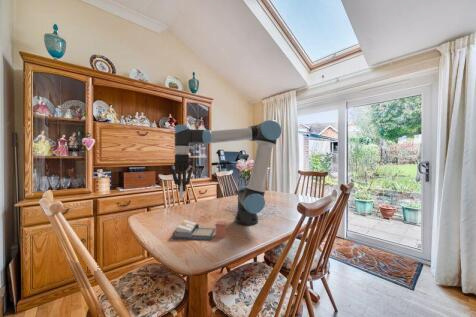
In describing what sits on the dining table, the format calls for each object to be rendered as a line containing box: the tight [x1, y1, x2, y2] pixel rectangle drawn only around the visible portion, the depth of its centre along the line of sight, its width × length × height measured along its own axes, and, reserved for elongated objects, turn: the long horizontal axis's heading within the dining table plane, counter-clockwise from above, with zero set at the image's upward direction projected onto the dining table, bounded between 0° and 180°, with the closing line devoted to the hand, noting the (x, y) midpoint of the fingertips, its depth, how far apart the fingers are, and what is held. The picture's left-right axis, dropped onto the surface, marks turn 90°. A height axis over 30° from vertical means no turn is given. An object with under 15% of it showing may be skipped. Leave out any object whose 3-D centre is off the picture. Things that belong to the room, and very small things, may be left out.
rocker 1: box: [175, 224, 192, 233], centre depth 105 cm, size 7×3×3 cm, turn 86°
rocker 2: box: [179, 221, 194, 232], centre depth 109 cm, size 7×3×3 cm, turn 86°
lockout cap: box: [215, 220, 227, 238], centre depth 108 cm, size 5×5×7 cm
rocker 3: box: [182, 219, 197, 229], centre depth 113 cm, size 7×3×3 cm, turn 86°
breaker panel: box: [171, 223, 216, 241], centre depth 109 cm, size 20×13×3 cm, turn 86°
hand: (181, 197), depth 109 cm, fingers closed
